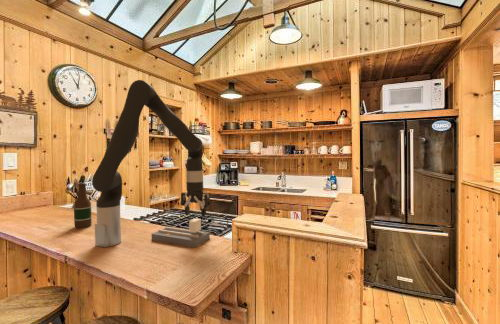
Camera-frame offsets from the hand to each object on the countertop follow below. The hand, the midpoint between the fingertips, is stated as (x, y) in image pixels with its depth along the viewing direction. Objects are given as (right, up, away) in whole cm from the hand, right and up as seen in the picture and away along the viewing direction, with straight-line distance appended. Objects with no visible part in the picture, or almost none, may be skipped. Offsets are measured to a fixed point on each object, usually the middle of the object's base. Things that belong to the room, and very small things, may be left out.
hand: (195, 215), depth 112 cm
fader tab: (0, -9, 0) cm, 9 cm away
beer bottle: (-67, -11, +22) cm, 71 cm away
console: (-8, -12, +4) cm, 15 cm away
